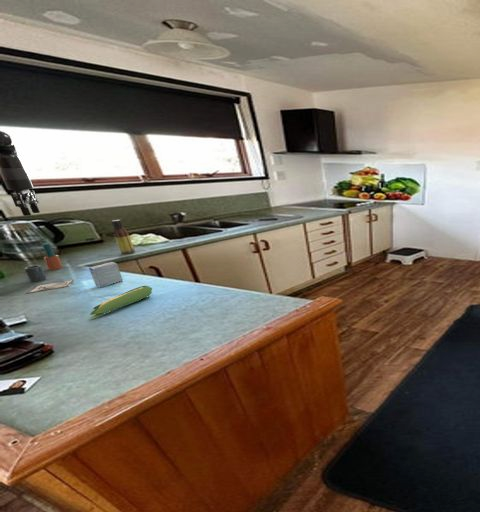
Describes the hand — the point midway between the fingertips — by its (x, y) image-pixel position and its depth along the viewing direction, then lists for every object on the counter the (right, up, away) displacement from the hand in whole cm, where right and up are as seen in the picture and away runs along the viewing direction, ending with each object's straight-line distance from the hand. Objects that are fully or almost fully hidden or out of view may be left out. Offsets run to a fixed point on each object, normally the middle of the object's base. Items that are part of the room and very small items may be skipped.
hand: (32, 214), depth 128 cm
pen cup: (0, -27, +9) cm, 28 cm away
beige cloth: (+24, -33, -12) cm, 43 cm away
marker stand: (+10, -31, -5) cm, 33 cm away
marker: (0, -26, +9) cm, 28 cm away
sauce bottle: (+13, -18, +34) cm, 41 cm away
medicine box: (+46, -32, -9) cm, 56 cm away
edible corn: (+71, -39, -28) cm, 85 cm away
